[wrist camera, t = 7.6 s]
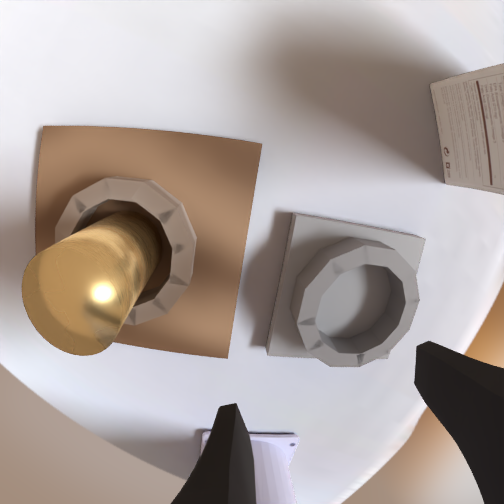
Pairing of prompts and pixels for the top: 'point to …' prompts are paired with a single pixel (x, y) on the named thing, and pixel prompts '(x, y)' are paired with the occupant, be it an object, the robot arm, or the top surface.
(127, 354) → the top surface
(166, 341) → the hub board
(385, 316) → the spline stand
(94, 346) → the brass peg
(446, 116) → the supplement box
